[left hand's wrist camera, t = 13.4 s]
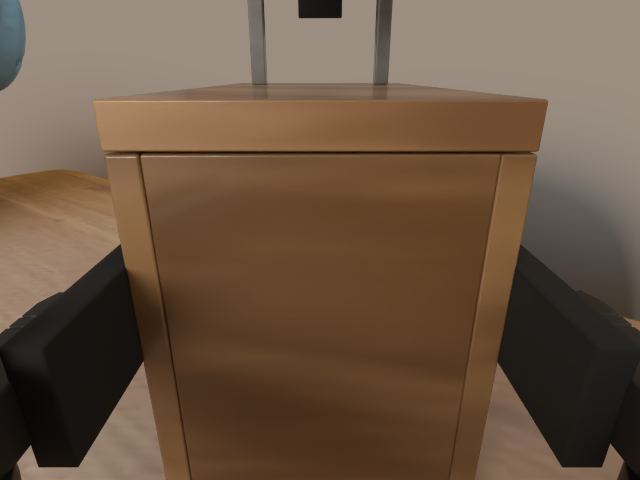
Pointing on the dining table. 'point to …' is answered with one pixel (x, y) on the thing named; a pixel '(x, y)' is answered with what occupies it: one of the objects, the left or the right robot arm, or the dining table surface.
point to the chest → (320, 306)
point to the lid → (320, 113)
